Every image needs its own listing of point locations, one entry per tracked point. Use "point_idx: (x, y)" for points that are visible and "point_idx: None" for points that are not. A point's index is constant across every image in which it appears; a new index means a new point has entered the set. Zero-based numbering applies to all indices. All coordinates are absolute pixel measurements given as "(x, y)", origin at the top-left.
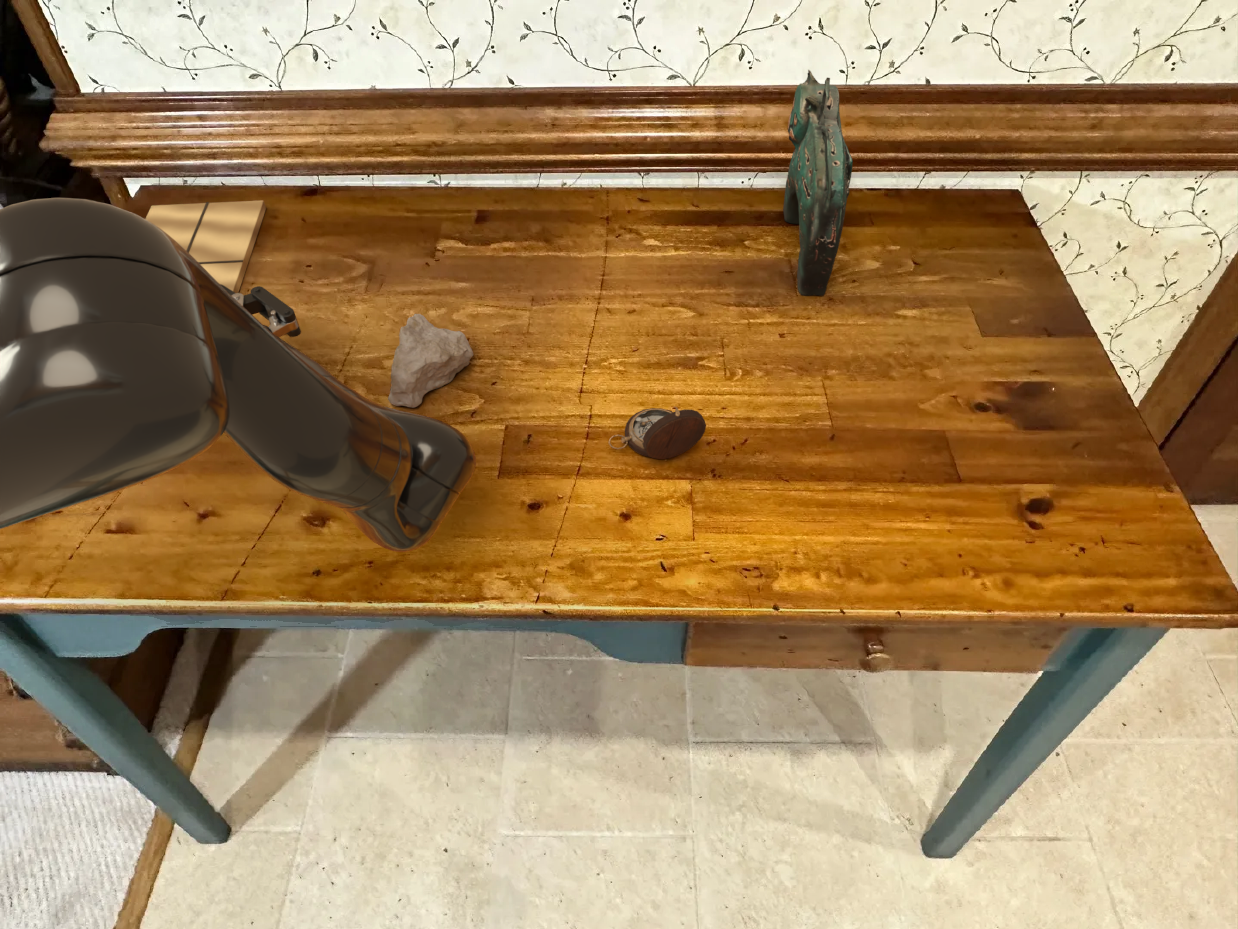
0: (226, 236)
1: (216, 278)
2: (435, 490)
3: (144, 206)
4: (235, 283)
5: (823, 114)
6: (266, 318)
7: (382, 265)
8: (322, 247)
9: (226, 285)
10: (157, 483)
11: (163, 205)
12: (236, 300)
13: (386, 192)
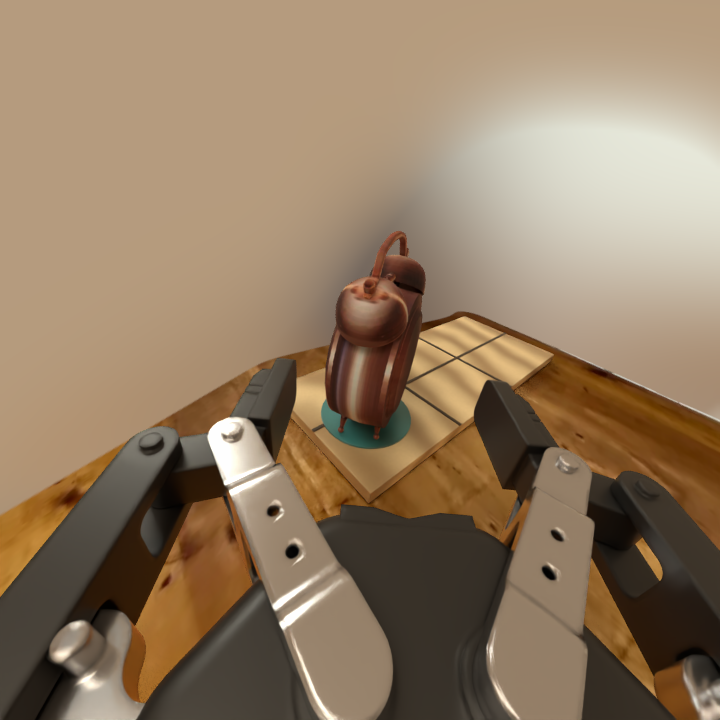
0: (506, 360)
1: (476, 385)
2: None
3: (458, 316)
4: None
5: None
6: (604, 577)
7: (700, 507)
8: (602, 426)
9: None
10: (165, 617)
11: (472, 320)
12: (565, 475)
13: (698, 417)
